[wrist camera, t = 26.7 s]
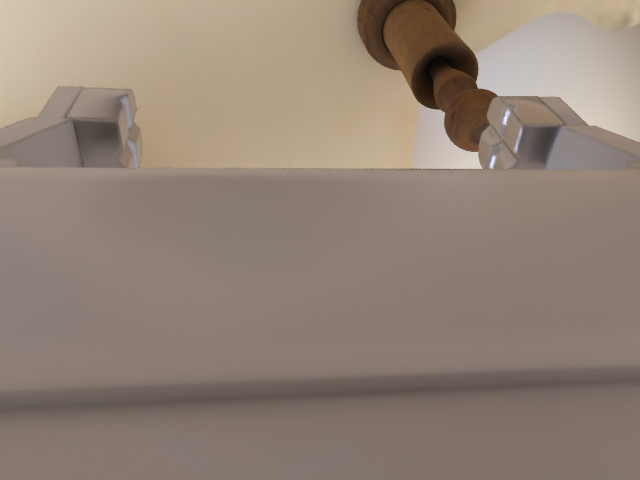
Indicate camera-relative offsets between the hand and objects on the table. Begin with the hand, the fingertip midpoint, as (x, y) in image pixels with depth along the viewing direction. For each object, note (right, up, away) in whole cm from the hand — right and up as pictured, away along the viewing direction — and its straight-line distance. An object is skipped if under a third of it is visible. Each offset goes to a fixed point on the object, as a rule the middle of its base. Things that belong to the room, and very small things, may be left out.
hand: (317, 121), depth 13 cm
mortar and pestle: (+6, +14, +28) cm, 31 cm away
